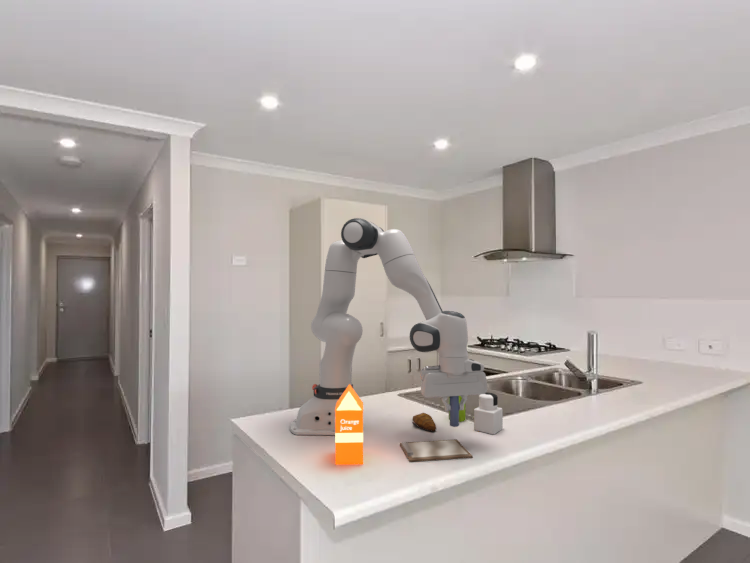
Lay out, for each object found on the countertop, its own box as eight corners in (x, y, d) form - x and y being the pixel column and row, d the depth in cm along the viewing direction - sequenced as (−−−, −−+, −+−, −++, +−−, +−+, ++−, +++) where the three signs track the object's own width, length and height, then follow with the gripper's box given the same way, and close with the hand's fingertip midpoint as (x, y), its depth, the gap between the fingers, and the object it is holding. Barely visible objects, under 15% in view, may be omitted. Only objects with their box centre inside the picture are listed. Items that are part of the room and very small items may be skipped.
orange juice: (363, 451, 127) (363, 383, 127) (363, 464, 118) (363, 390, 118) (336, 452, 126) (336, 383, 126) (334, 465, 118) (334, 390, 118)
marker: (451, 427, 131) (451, 387, 131) (448, 423, 134) (447, 385, 134) (460, 426, 131) (460, 386, 131) (457, 423, 134) (456, 384, 134)
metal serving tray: (409, 462, 119) (409, 456, 119) (399, 444, 132) (399, 439, 132) (472, 457, 122) (472, 452, 122) (456, 441, 135) (456, 436, 135)
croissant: (405, 422, 154) (405, 408, 154) (422, 420, 157) (422, 406, 157) (425, 434, 142) (425, 419, 142) (443, 431, 144) (443, 416, 144)
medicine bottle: (483, 424, 150) (482, 390, 150) (502, 429, 146) (502, 393, 146) (473, 430, 145) (473, 394, 145) (493, 435, 140) (493, 397, 140)
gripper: (423, 368, 128) (424, 415, 128) (489, 365, 131) (489, 410, 131) (417, 364, 134) (418, 409, 134) (480, 361, 137) (481, 405, 137)
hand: (454, 410), depth 132 cm, fingers closed on marker, 3 cm apart
